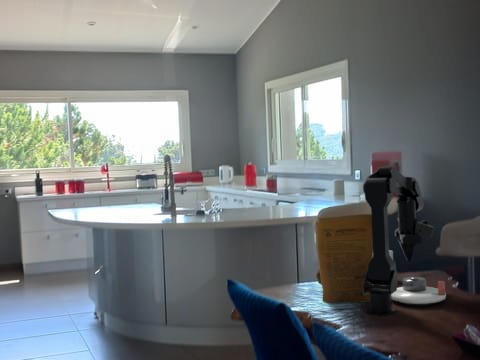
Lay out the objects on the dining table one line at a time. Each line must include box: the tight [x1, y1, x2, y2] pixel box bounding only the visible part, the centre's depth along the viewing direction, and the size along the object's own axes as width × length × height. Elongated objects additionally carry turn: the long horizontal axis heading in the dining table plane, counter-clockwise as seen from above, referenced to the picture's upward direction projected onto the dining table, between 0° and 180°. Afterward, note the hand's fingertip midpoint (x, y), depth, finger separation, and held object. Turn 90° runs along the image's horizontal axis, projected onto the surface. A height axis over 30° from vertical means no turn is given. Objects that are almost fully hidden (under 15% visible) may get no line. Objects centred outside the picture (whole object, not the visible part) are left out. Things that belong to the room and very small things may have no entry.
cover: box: [402, 276, 427, 292], centre depth 181 cm, size 7×7×4 cm
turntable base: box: [399, 302, 438, 307], centre depth 177 cm, size 12×12×1 cm
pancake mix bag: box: [314, 213, 373, 304], centre depth 180 cm, size 7×19×28 cm, turn 84°
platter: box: [391, 280, 447, 304], centre depth 177 cm, size 17×17×5 cm
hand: (409, 261), depth 189 cm, fingers closed
